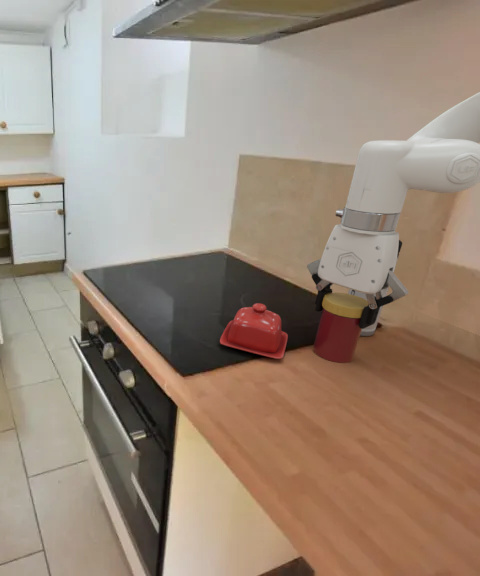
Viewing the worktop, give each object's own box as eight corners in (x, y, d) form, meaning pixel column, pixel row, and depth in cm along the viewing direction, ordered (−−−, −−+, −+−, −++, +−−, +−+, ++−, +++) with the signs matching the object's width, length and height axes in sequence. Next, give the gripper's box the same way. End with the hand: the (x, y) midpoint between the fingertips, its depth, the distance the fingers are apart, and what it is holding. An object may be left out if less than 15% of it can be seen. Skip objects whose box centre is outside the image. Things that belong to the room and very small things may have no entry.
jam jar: (325, 340, 76) (338, 292, 72) (360, 356, 71) (376, 305, 67) (305, 349, 73) (317, 299, 69) (340, 366, 68) (355, 313, 64)
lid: (335, 298, 73) (337, 289, 72) (376, 312, 67) (379, 303, 66) (313, 306, 69) (315, 297, 69) (354, 322, 64) (357, 312, 63)
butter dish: (281, 366, 68) (291, 323, 65) (216, 349, 73) (222, 309, 70) (287, 338, 77) (296, 299, 74) (229, 324, 82) (235, 288, 79)
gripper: (305, 214, 67) (285, 304, 74) (421, 235, 53) (385, 344, 60) (329, 210, 71) (308, 296, 78) (444, 229, 57) (407, 332, 64)
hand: (342, 317), depth 69 cm, fingers closed on lid, 7 cm apart
